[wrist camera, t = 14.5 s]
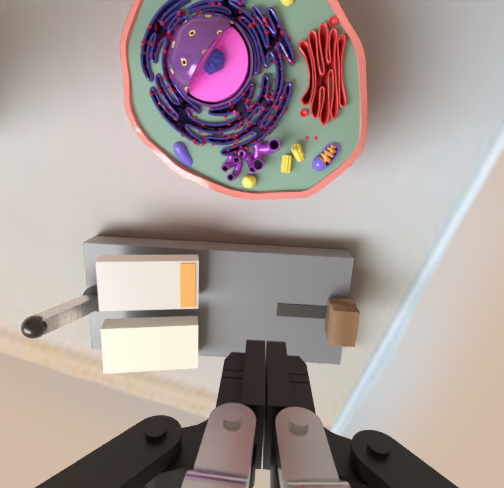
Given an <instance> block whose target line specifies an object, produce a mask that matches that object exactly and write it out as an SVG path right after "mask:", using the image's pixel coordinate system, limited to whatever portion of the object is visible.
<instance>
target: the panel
mask: <svg viewBox="0 0 504 488" xmlns="http://www.w3.org/2000/svg"><path fill="white" fill-rule="evenodd" d="M83 248H84V260H85V272H86V284H87V290H86V291H85V292H84V294H83V296H84V295H86V294H88V293H90V294H93V295H96V296H98V289H97V276H96V260H97V259H98V258H99V257H100V255H198V257H199V295H198V309H165V310H131V311H99V309H98V310H96V311H94V312H92V313H90V314H89V320H90V332H91V345H92V349H102V344H101V330H100V329H101V327H102V325H103V322H104V320H105V319H119V318H146V317H174V316H198V355H202V356H218V357H228V355H229V354H230V353H231V352H242V353H245V350H246V340H247V339H249V340H265V356H266V342H267V341H283V342H286V349H287V355H291V356H300V358H301V359H302V360H303V361H304V362H313V363H329V364H340V360H341V353H342V346H336V345H329V342H328V339H327V336H326V333H325V321H326V312H327V303H328V298H345V299H349V293H350V285H351V278H352V270H353V263H354V258H353V256H352V255H351V254H350V252H349V251H348V250H346V249H328V248H310V247H293V246H275V245H257V244H240V243H222V242H205V241H187V240H169V239H152V238H134V237H116V236H99V235H96V236H95V237H93V238H91V239H89V240H87V241H85V242H84V243H83Z"/></svg>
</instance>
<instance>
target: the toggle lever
mask: <svg viewBox="0 0 504 488" xmlns="http://www.w3.org/2000/svg"><path fill="white" fill-rule="evenodd" d="M98 309H99V303H98V296H96V295H93V294H90V293H88V294H86V295H84V296H81V297H79V298H76V299H74V300H71V301H69V302H66V303H64V304H61V305H59V306H56V307H54V308H51V309H49V310H46V311H44V312H41V313H39V314H36V315H33V316H30V317H28V318H26V319H25V320H24V321H23V323H22V325H21V331H22V333H23V335H24V336H26V337H27V338H31V339H34V338H39V337H41V336H42V335H43V334H46V333H48V332H51V331H53V330H55V329H57V328H59V327H62V326H64V325H66V324H68V323H70V322H72V321H75V320H77V319H79V318H81V317H83V316H85V315H88V314H90V313H92V312H94V311H96V310H98Z"/></svg>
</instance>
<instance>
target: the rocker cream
mask: <svg viewBox="0 0 504 488" xmlns="http://www.w3.org/2000/svg"><path fill="white" fill-rule="evenodd" d="M100 330H101V344H102V357H103V371H104V374H108V373H124V372H140V371H156V370H172V369H187V368H198V316H174V317H146V318H119V319H105V320H104V322H103V325H102V327H101V329H100Z"/></svg>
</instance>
